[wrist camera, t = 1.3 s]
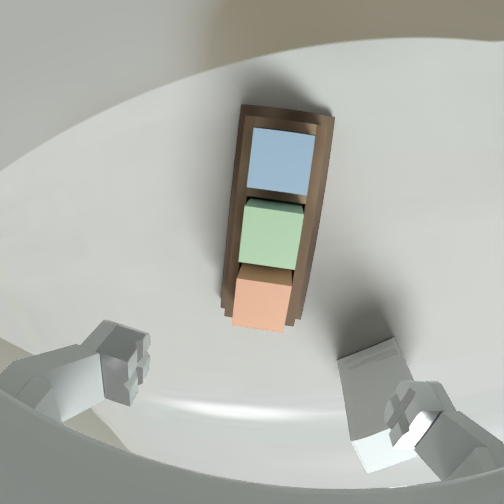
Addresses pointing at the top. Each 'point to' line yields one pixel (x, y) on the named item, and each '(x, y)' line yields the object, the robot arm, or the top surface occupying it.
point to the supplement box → (373, 402)
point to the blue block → (280, 161)
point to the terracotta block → (262, 297)
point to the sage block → (271, 233)
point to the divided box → (278, 196)
